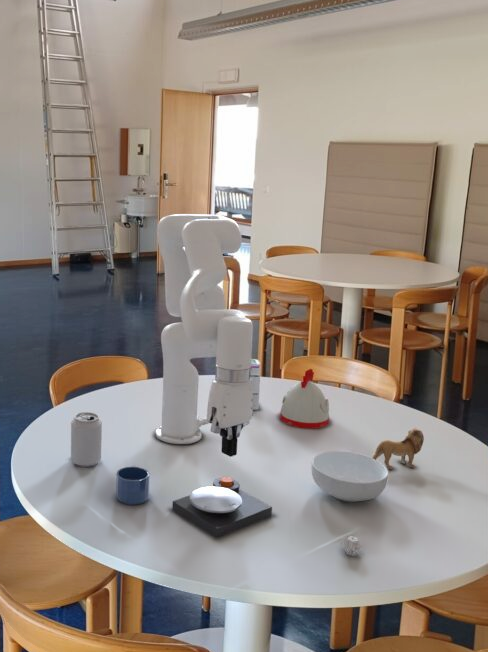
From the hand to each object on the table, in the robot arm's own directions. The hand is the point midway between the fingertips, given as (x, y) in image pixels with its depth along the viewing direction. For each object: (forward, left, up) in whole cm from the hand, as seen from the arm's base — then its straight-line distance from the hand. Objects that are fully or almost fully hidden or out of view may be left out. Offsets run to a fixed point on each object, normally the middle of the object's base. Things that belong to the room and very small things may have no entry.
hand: (228, 453), depth 157 cm
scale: (+5, +4, -11) cm, 13 cm away
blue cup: (+17, -12, -11) cm, 24 cm away
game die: (-5, +30, -11) cm, 32 cm away
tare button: (0, 0, -8) cm, 8 cm away
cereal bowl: (-25, +14, -11) cm, 30 cm away
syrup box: (-48, -40, -11) cm, 63 cm away
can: (+15, -34, -11) cm, 39 cm away
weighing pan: (+7, +4, -7) cm, 11 cm away
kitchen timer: (-54, -23, -11) cm, 59 cm away
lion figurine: (-49, +11, -11) cm, 51 cm away
